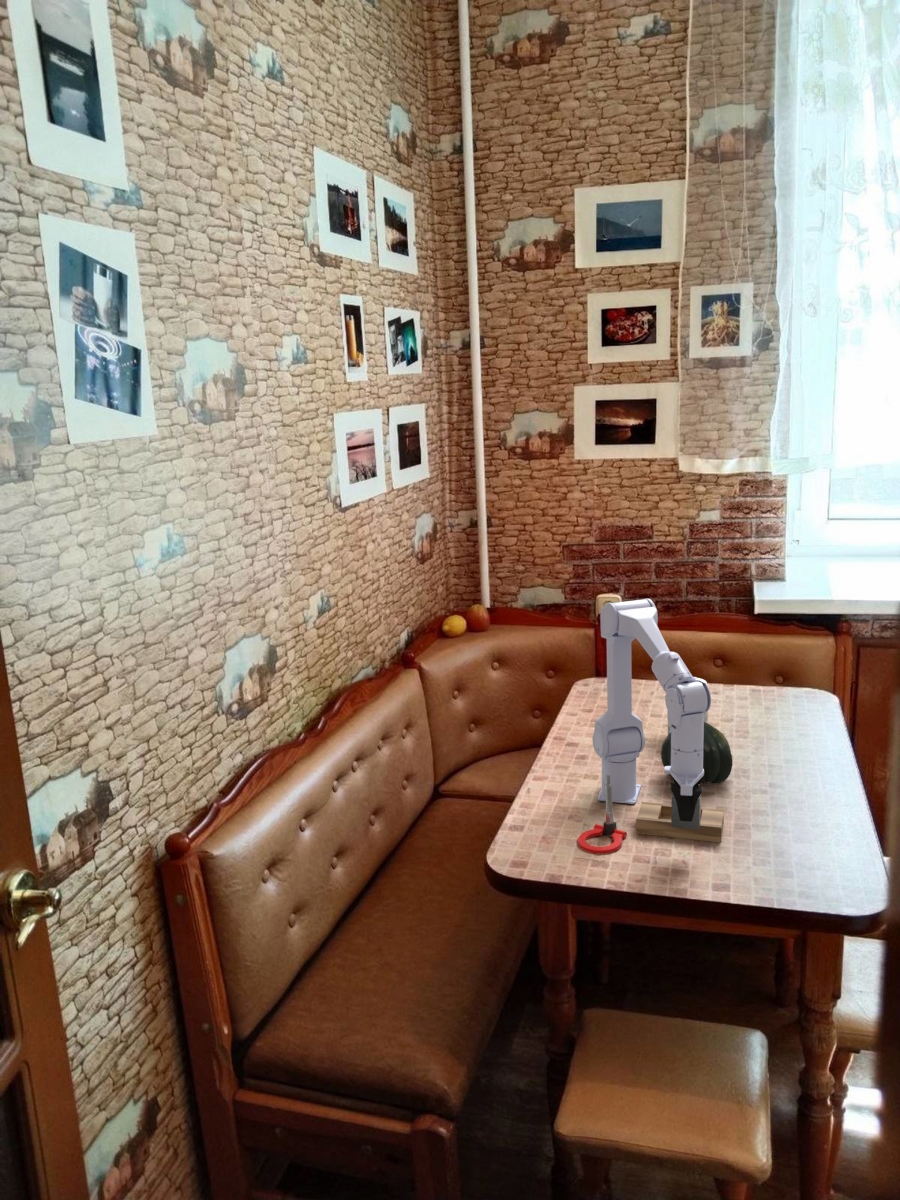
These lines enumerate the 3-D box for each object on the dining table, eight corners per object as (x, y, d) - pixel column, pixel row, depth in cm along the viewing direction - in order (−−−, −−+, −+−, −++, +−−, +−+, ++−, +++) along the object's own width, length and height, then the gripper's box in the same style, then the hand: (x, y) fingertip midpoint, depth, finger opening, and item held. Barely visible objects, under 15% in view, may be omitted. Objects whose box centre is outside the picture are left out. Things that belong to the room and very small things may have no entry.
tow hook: (609, 860, 179) (631, 838, 186) (607, 797, 176) (629, 777, 183) (570, 849, 184) (593, 828, 191) (566, 787, 181) (590, 768, 188)
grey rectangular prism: (672, 819, 180) (673, 789, 178) (700, 822, 178) (701, 792, 177) (671, 826, 177) (671, 796, 175) (699, 829, 175) (699, 799, 174)
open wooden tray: (641, 815, 195) (641, 801, 195) (723, 823, 190) (723, 809, 189) (636, 833, 188) (636, 818, 187) (721, 842, 183) (721, 827, 182)
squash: (735, 776, 199) (730, 708, 206) (661, 775, 202) (659, 709, 209) (732, 796, 211) (727, 732, 218) (662, 796, 214) (660, 732, 222)
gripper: (665, 731, 182) (664, 797, 185) (663, 760, 168) (662, 832, 171) (704, 732, 180) (702, 800, 183) (705, 762, 166) (703, 834, 169)
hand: (686, 815), depth 177 cm, fingers closed on grey rectangular prism, 3 cm apart
